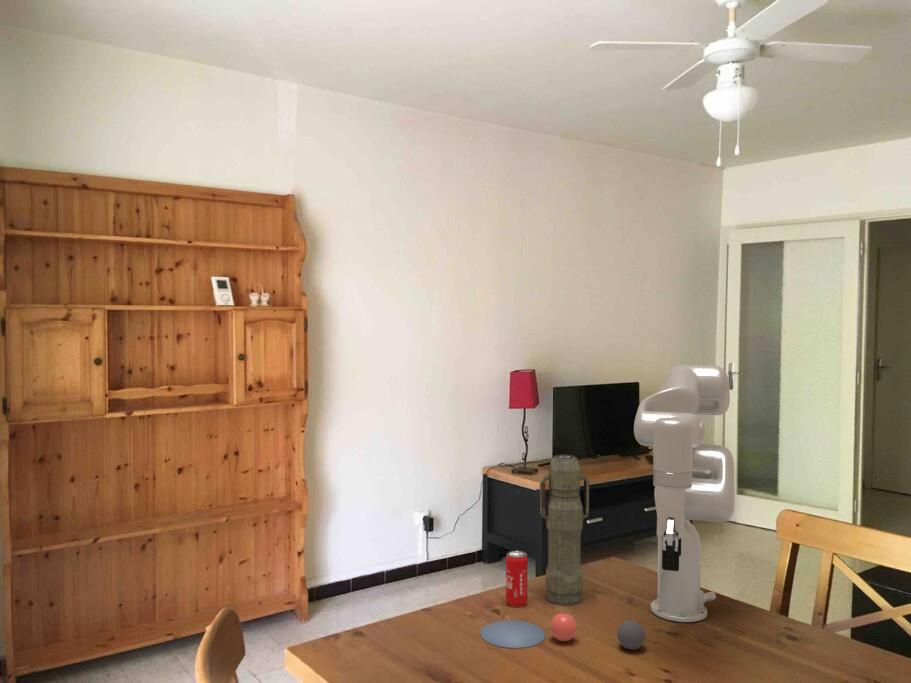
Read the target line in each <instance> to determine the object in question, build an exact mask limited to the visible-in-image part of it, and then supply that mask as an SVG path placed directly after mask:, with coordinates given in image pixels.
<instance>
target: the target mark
mask: <svg viewBox="0 0 911 683" xmlns="http://www.w3.org/2000/svg"><path fill="white" fill-rule="evenodd" d="M545 632H546V631H545V630H543V628H542V627H540V626H538V625H537V624H534V623H531V622H528V621H525V620H524V621H523V620H516V619H503V620H497V621H493V622H490V623H488V624H486V625H484V626H483V627H482V628H481V629H480V637H481V638H482V640H484V642H486V643H488V644H490V645H493V646H494V647H495V646H496V647H498V648H499V647H500V648H505V649H526V648H530V647H535V646H537V645H540V644H541V643H542V642H543V641H544V640H545V639H546V633H545Z"/></svg>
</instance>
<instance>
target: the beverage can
mask: <svg viewBox="0 0 911 683" xmlns="http://www.w3.org/2000/svg"><path fill="white" fill-rule="evenodd" d="M527 555H528V554H527V553H526V552H524V551H521V550H520V551H519V550H512V551H508V552H506V557H505V600H506V603H507V605H508V606H510V607H514V608H520V607H524V606H526V604H527V601H528V587H529V586H528V575H529V574H528V568H529V567H528V566H529V565H528V563H529V562H528V556H527Z"/></svg>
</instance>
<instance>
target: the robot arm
mask: <svg viewBox="0 0 911 683" xmlns="http://www.w3.org/2000/svg"><path fill="white" fill-rule="evenodd" d="M730 392H731V391H730V381H729V377H728V374H727V371H726V370H724V368H722V367H721V366H719V365H711V364H708V365H707V364H704V365H703V364H680V365H675V366H673V367H672V368H670V369H669V370H668V371H667V373H666V375H665V379H664V383H663V384H662V385H661V386H660V387H659V389H658V392H656V393H654V394H652V395H651V394H650V395H649V396H648V397H645V398H644V399H643V400H641V402H640V403H639V405H638V408H637V411H636V414H635V418H634V424H633V434H634V438H635V441H637V443H638V444H639V445H642V446H643V447H644V446H645V447H651V448H652V447H653V465H652V466H653V475H652V476H653V478H652V480H653V482H652V483H653V486H654V493H653V494H654V504H655V509H656V517H657V518H656V537H657V598H656V599H654V600H652V601H651V602H650V610H651V612H652V613H653V614H654V615H656V616H657V617H660V618H662V619H663V620H667V621H671V622H672V621H673V622H679V623H693V622H699V621H702V620H704V619H706V618H707V617H708V609H707V607H706V606H705V605H704V604H706V603H707V602H710V601H714V600H716V599H717V595H716V593H715V591H709V592H705V593H704V591H703V590H702V589H701V562H702V561H701V554H702V553H701V549H702V548H701V545H702V544H701V543H702V541H701V536H700V534H699V532H698V531H697V529H696V528H695V526H694V525H693V523H691V521H702V522H713V523H714V522H715V523H725V522H729V520H731V518H732V517H733V514H734V511H735V462H734V457H733V455H732V452H731V450H730V449H729V448H727V447H726V446H723V445H717V444H705V443H703V440H704V438H705V432H706V431H705V423H704V422H703V421H702V418H701V417H700V416H698V415H701V416H702V415H703V416H722V415H725V413H727V411H728V410H729V407H730V402H731V401H730V400H731V396H730V395H731V394H730Z"/></svg>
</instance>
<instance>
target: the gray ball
mask: <svg viewBox="0 0 911 683" xmlns="http://www.w3.org/2000/svg"><path fill="white" fill-rule="evenodd" d="M616 632H617V633H616V635H617V640H618V642H619V643H620V645H621V646H622V647H624V648H626V649H627V650H638V649H639V648H641V647H642V646H643V644H644V643H645V640H646V634H645V633H646V632H645V630H644V628H643V626H642V625H641V624H640V623H639V622H637V621H634V620H626V621H623V622H622V623H621V624H620V625H619V627H618V628H617V631H616Z"/></svg>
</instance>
